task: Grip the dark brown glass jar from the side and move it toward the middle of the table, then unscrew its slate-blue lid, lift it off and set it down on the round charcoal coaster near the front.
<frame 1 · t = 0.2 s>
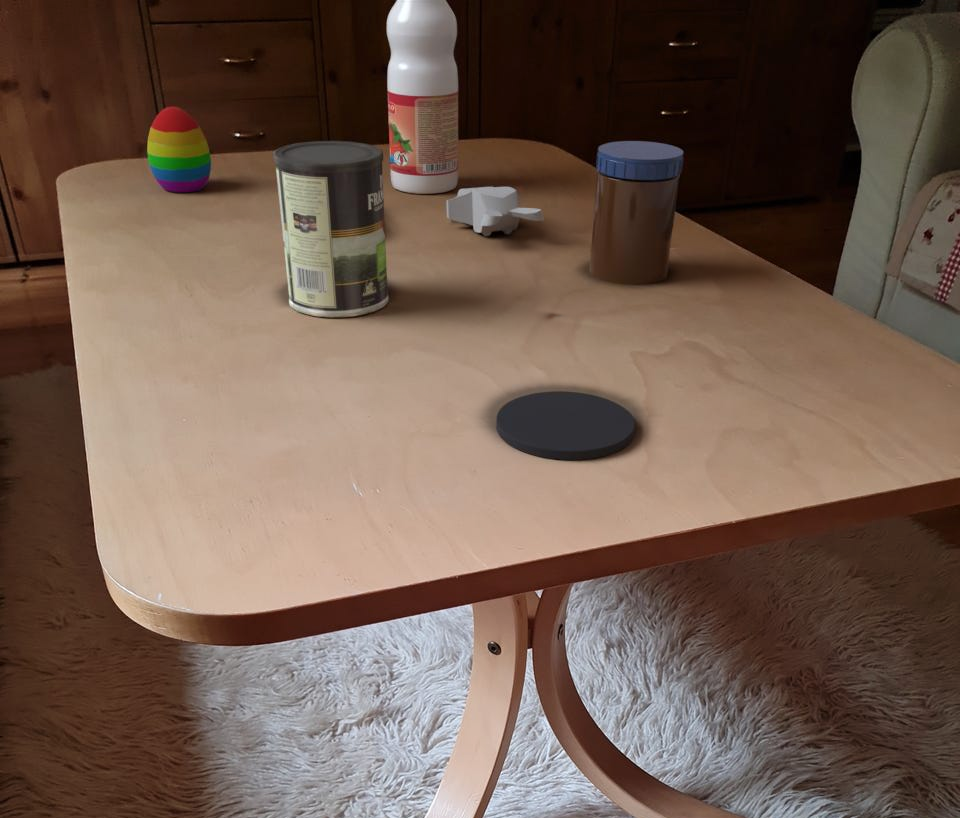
jar lid: (640, 154, 102), point 13 cm above the table, screwed on, not yet turned
jar: (627, 280, 110), on the table
coaster: (564, 428, 80), on the table
coffee can: (338, 302, 103), on the table
fruit juice: (424, 188, 141), on the table
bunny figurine: (491, 232, 124), on the table
decorative egg: (184, 189, 139), on the table
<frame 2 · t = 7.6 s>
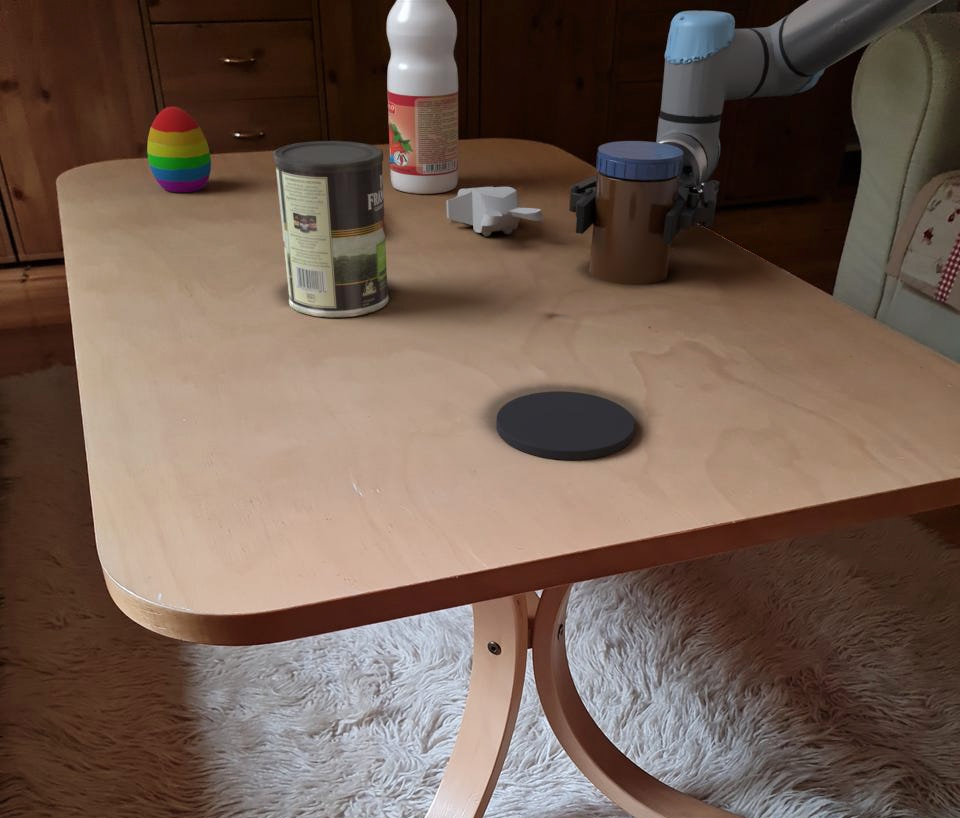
hand: (623, 224, 102), 7 cm above the table, tool horizontal, fingers closed on jar, 8 cm apart
jar: (627, 280, 110), on the table, touching gripper
everything else where it was.
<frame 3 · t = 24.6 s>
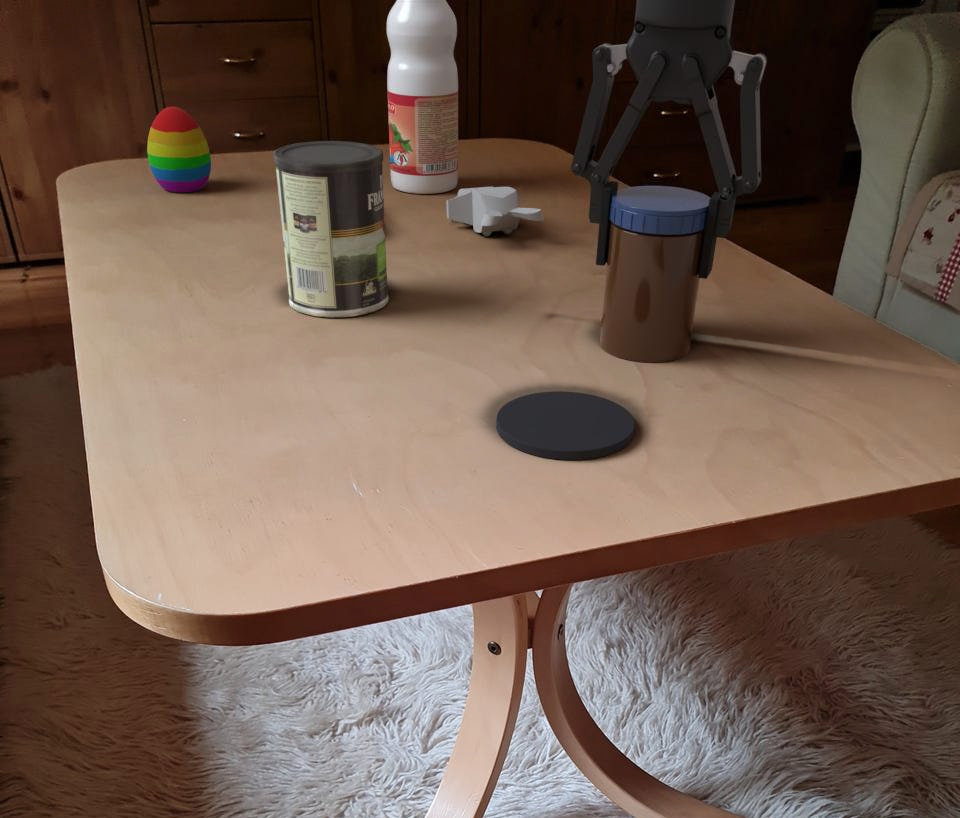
hand: (653, 267, 91), 7 cm above the table, tool pointing down, fingers closed on jar lid, 9 cm apart
jar lid: (661, 202, 87), point 13 cm above the table, screwed on, not yet turned, touching gripper
jar: (644, 345, 95), on the table
everything else where it was.
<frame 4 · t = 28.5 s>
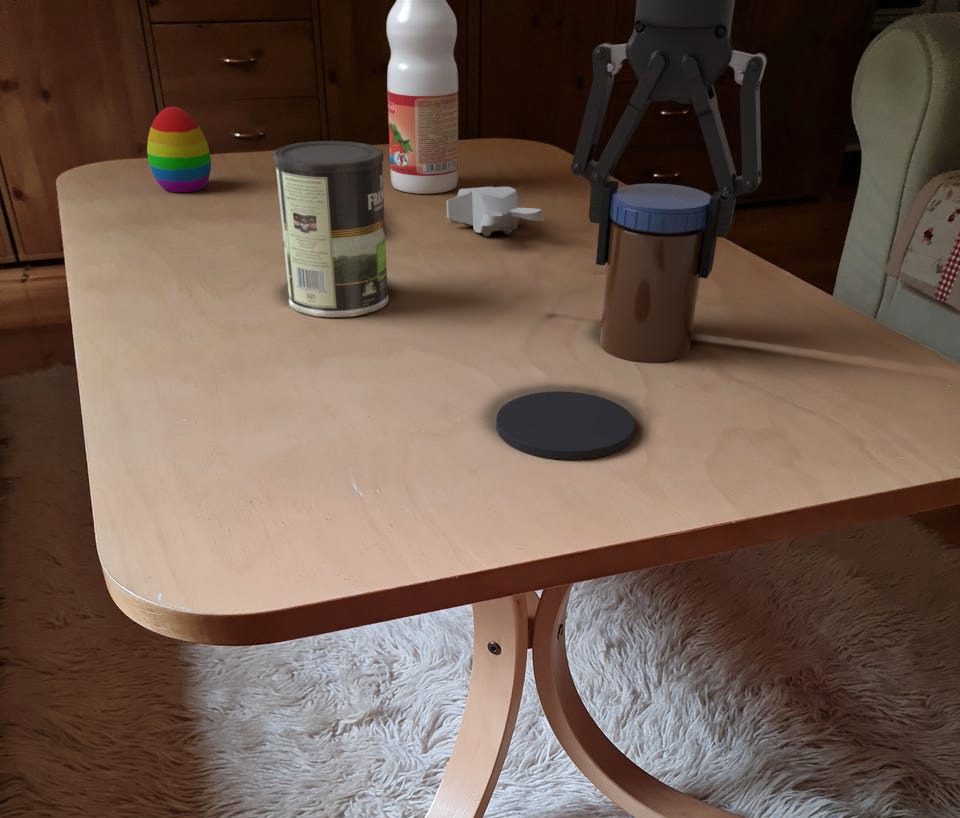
hand: (653, 266, 91), 7 cm above the table, tool pointing down, fingers closed on jar lid, 9 cm apart
jar lid: (661, 200, 87), point 13 cm above the table, turned 125° so far, risen 0.2 cm, still on its thread, touching gripper
everything else where it was.
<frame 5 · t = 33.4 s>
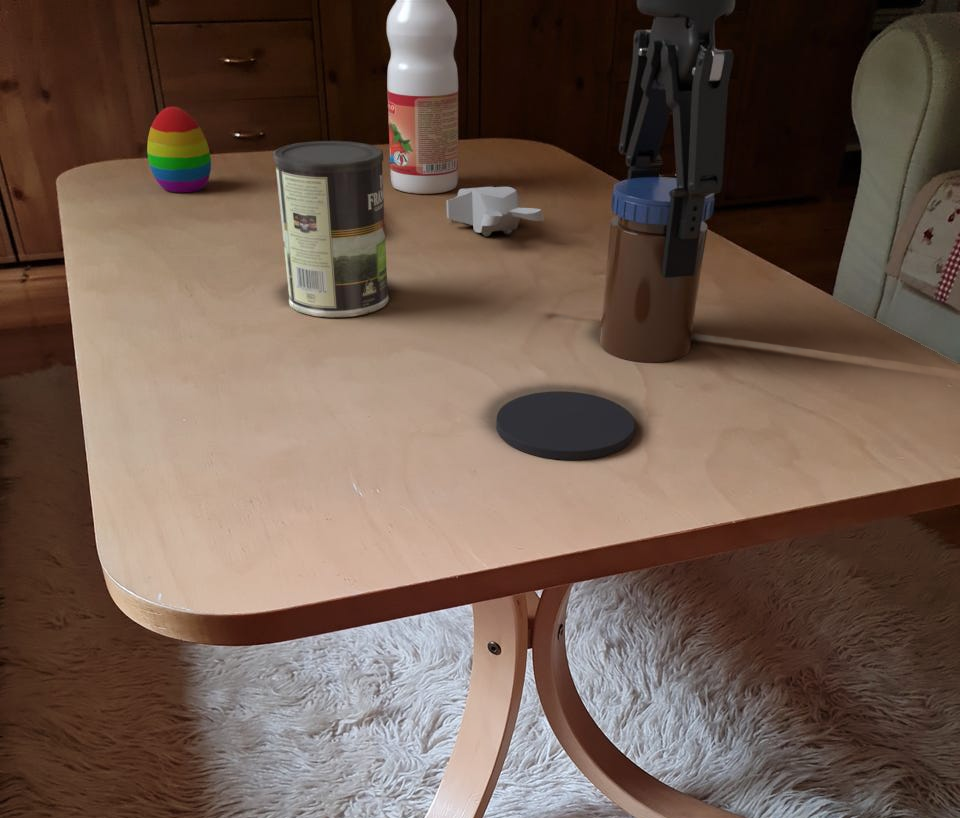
hand: (656, 259, 90), 8 cm above the table, tool pointing down, fingers closed on jar lid, 9 cm apart
jar lid: (663, 193, 87), point 13 cm above the table, off its thread, touching gripper
jar: (644, 345, 95), on the table, touching gripper
everything else where it was.
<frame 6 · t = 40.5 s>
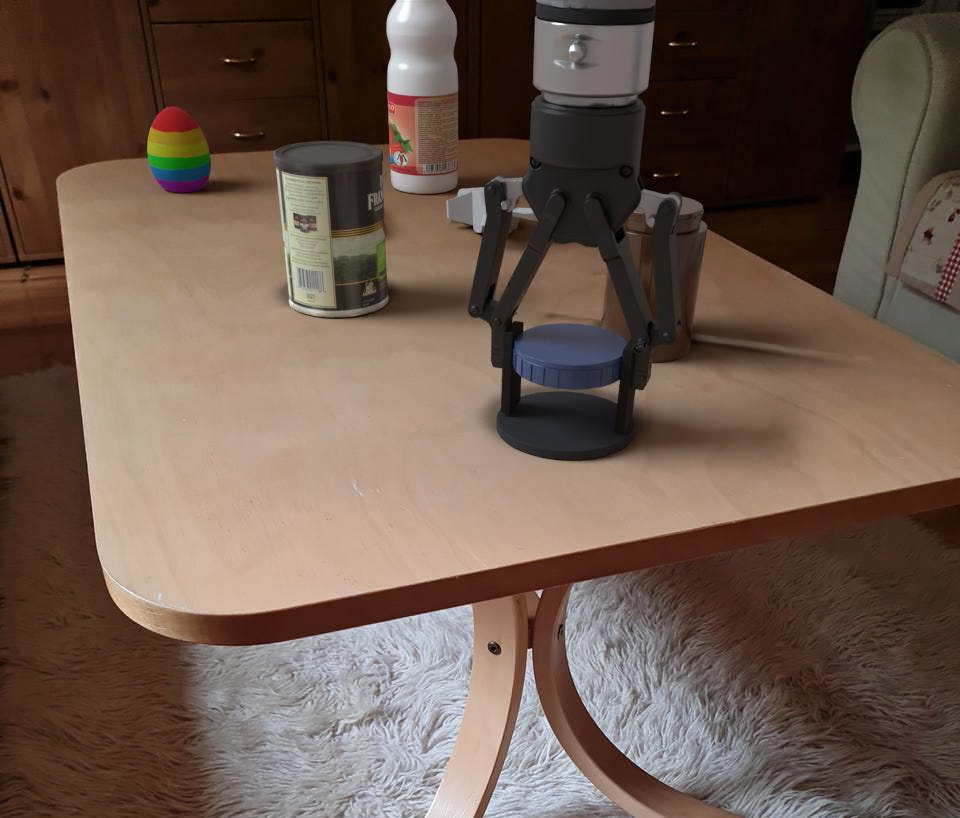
hand: (566, 415, 80), 1 cm above the table, tool pointing down, fingers closed on jar lid, 9 cm apart
jar lid: (570, 348, 76), point 7 cm above the table, off its thread, touching gripper
jar: (644, 345, 95), on the table
everything else where it was.
when the fingers open (2 cm above the table, at t = 51.3 s): jar lid drops 6 cm, resting on coaster.
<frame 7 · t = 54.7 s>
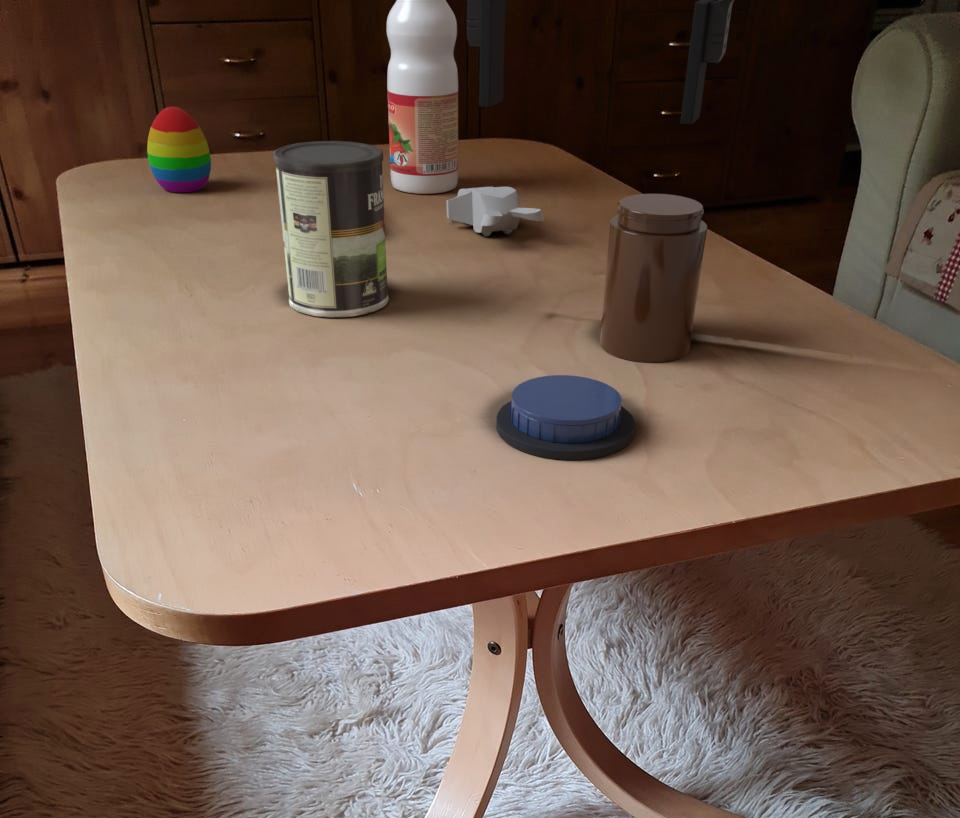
hand: (587, 112, 67), 23 cm above the table, tool pointing down, fingers open, 13 cm apart
jar lid: (566, 401, 79), point 2 cm above the table, off its thread, touching coaster
everything else where it was.
at the end: jar lid came off its thread; jar lid inside the target area on the coaster (0.0 cm from its centre), point 2.3 cm above the coaster's base; jar inside the target area (0.0 cm from its centre), on the table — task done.
